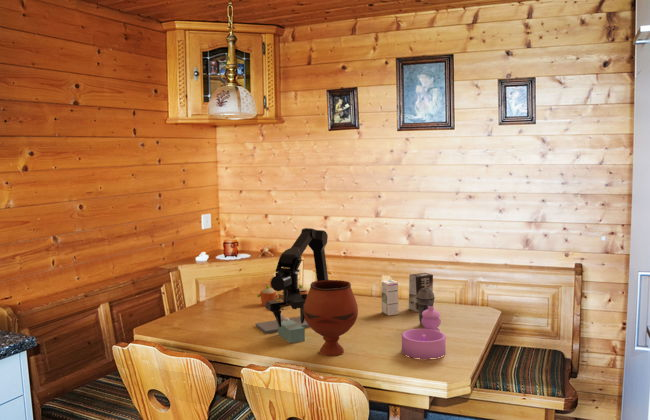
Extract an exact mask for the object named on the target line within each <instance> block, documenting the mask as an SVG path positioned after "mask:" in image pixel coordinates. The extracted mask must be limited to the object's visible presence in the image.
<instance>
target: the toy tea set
mask: <svg viewBox="0 0 650 420" xmlns="http://www.w3.org/2000/svg"><path fill="white" fill-rule="evenodd" d="M298 288H299V290H300V295H303V294H308V290H307V289H306V288H305V287H303V285H302V284H298ZM256 296H257V298H260V301H261V306H262V307H265V308H266V302H267V301H273V300H276V301H278V302H283V300H282V298H283V291H278V292H277V291H275V290H274V289H273V288H272V287H270V285H266V287H265V288H263V289H262V290H261V291H260V292H259V293H258V294H257V295H256ZM287 308H288V306H285V307H281V309H280V311H282V310H285V309H287Z"/></svg>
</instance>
